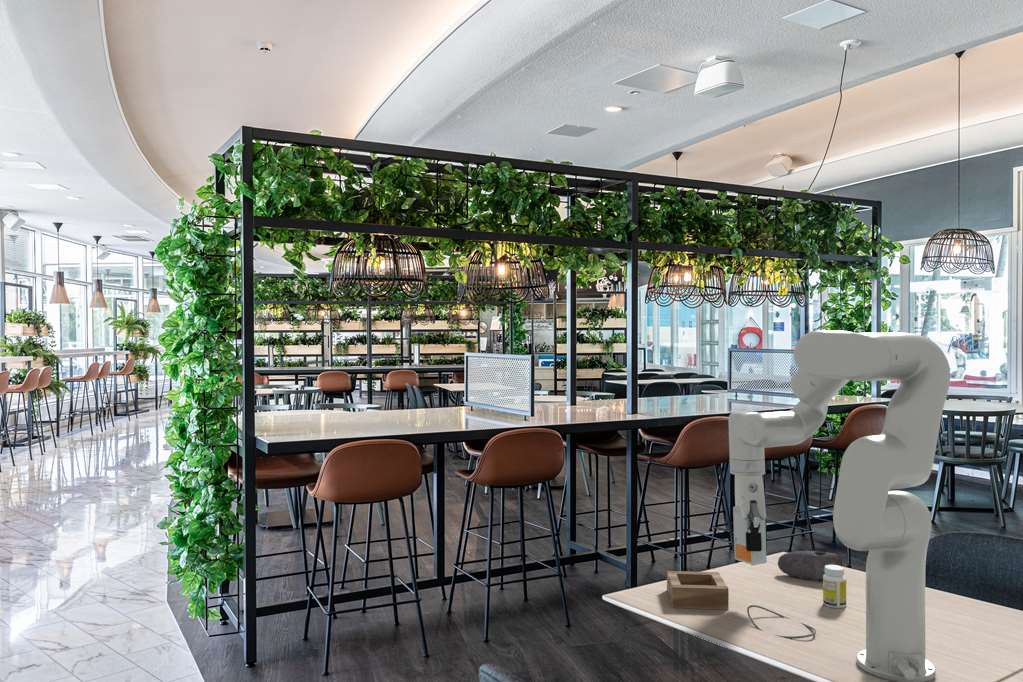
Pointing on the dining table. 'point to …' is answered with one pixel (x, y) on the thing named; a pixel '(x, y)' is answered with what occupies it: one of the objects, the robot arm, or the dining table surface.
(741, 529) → the skincare box
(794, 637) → the loop
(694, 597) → the holder
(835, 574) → the supplement bottle
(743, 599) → the dining table surface
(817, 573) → the perforated stone tool
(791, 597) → the dining table surface
